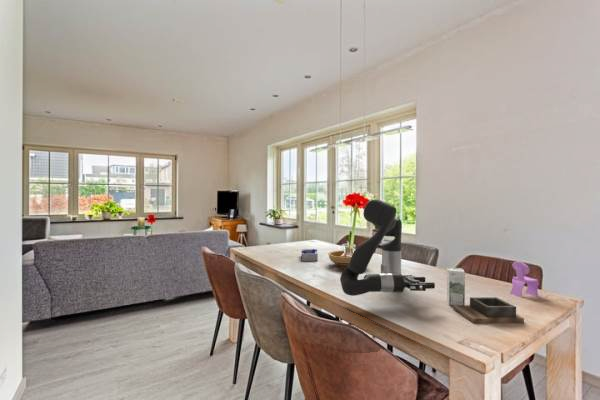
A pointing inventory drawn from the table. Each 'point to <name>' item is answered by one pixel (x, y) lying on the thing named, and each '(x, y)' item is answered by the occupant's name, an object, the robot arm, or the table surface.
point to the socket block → (489, 311)
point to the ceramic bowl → (339, 258)
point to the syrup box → (455, 286)
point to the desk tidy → (309, 255)
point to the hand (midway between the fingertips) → (429, 282)
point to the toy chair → (523, 280)
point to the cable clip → (310, 253)
